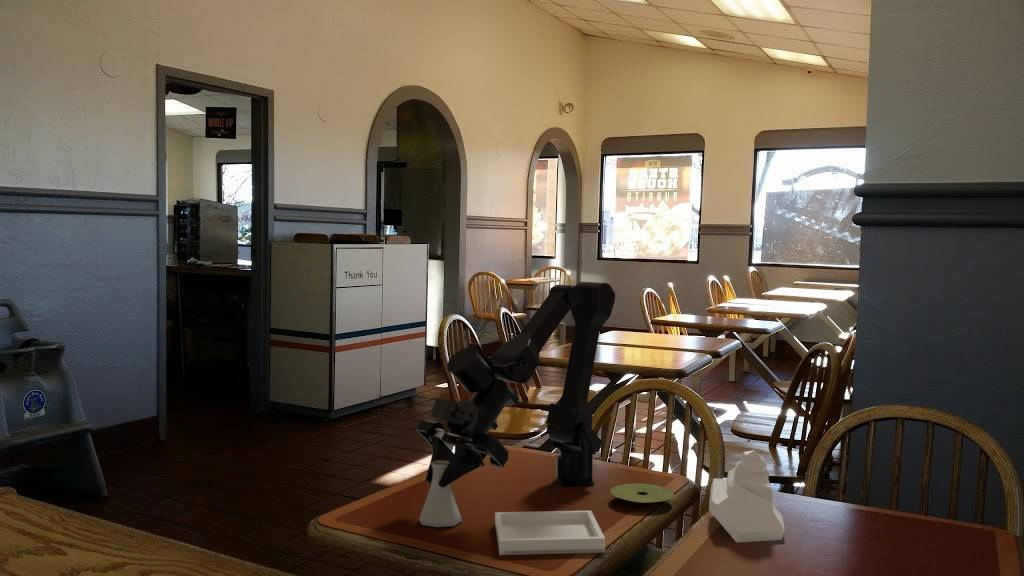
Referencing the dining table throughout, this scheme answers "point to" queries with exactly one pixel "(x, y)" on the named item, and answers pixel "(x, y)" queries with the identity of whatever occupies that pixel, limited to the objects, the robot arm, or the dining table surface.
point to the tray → (548, 533)
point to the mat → (642, 493)
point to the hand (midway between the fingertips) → (434, 483)
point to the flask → (440, 501)
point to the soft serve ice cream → (747, 502)
